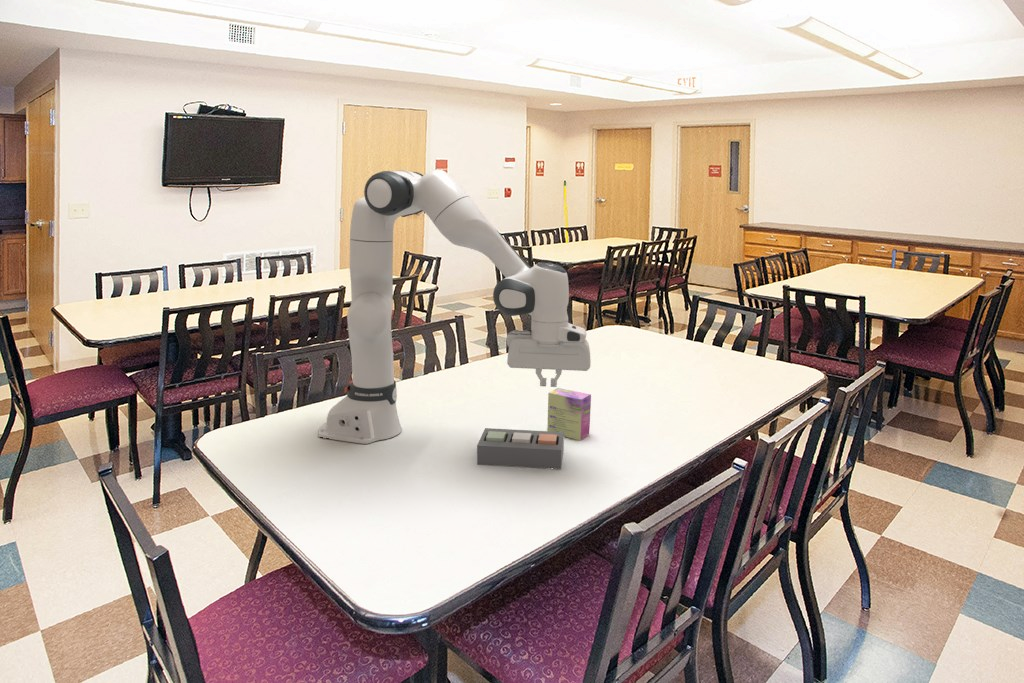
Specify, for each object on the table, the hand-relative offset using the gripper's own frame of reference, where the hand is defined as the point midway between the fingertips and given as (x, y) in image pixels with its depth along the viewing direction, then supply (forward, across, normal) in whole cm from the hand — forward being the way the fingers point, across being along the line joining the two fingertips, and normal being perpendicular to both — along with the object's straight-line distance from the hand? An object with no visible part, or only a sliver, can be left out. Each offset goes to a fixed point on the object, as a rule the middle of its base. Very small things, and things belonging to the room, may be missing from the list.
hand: (548, 386), depth 169 cm
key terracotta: (+15, 0, 0) cm, 15 cm away
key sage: (+15, -13, 0) cm, 20 cm away
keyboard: (+19, -6, 0) cm, 20 cm away
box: (+19, +5, +18) cm, 27 cm away
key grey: (+15, -6, 0) cm, 16 cm away
